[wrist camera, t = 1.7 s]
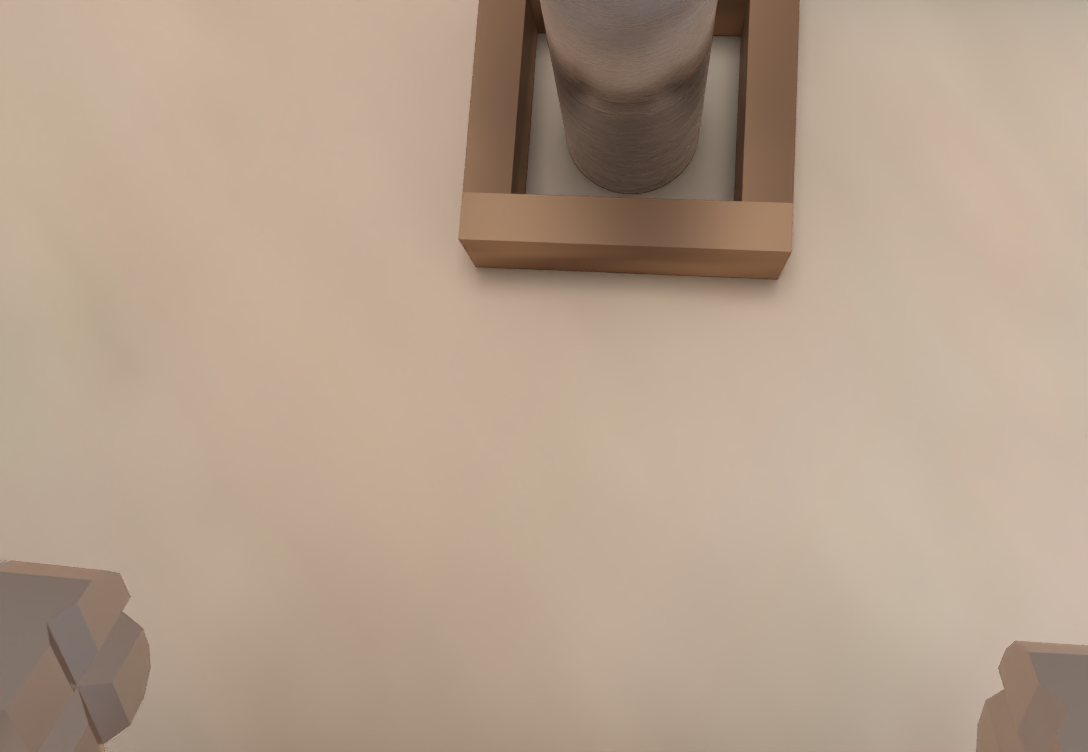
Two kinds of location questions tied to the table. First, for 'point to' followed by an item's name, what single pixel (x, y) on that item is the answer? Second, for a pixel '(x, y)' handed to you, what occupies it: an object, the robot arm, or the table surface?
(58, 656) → the robot arm
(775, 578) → the table surface
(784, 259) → the collar
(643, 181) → the peg
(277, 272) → the table surface
